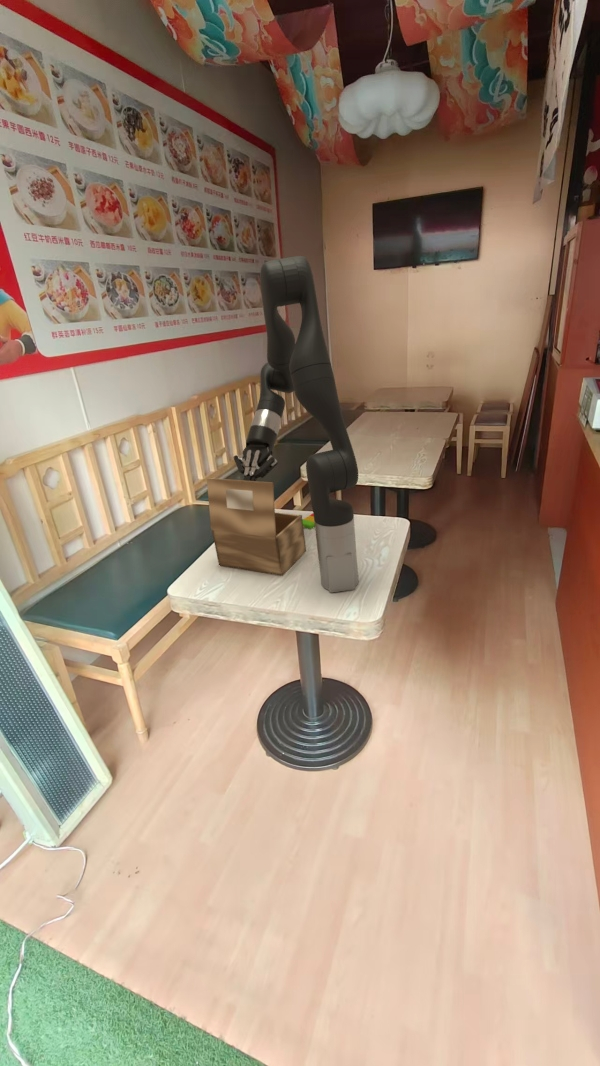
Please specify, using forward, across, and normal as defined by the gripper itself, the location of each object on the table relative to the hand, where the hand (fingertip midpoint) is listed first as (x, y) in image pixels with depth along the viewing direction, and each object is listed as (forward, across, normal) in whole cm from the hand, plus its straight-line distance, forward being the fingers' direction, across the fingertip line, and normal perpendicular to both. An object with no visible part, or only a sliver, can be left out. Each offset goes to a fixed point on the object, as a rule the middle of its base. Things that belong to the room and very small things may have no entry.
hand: (246, 490), depth 133 cm
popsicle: (-2, +3, +33) cm, 33 cm away
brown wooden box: (+13, 0, +17) cm, 21 cm away
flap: (+5, 0, 0) cm, 5 cm away
